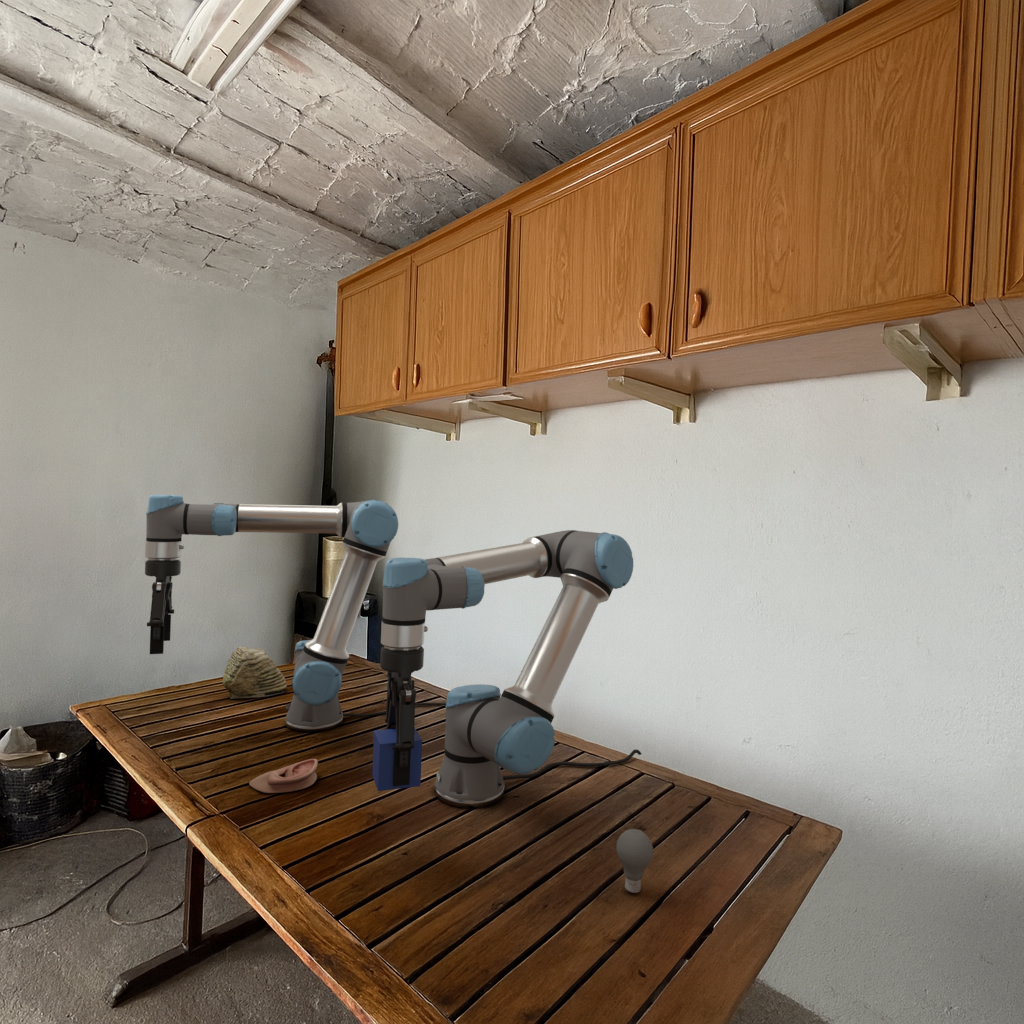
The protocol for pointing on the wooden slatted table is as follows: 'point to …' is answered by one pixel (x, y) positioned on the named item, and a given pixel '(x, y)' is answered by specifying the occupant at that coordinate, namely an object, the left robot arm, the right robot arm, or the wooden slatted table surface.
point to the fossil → (252, 674)
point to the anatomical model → (287, 778)
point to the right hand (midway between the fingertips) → (397, 775)
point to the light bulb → (634, 857)
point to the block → (385, 760)
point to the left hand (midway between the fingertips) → (160, 647)
